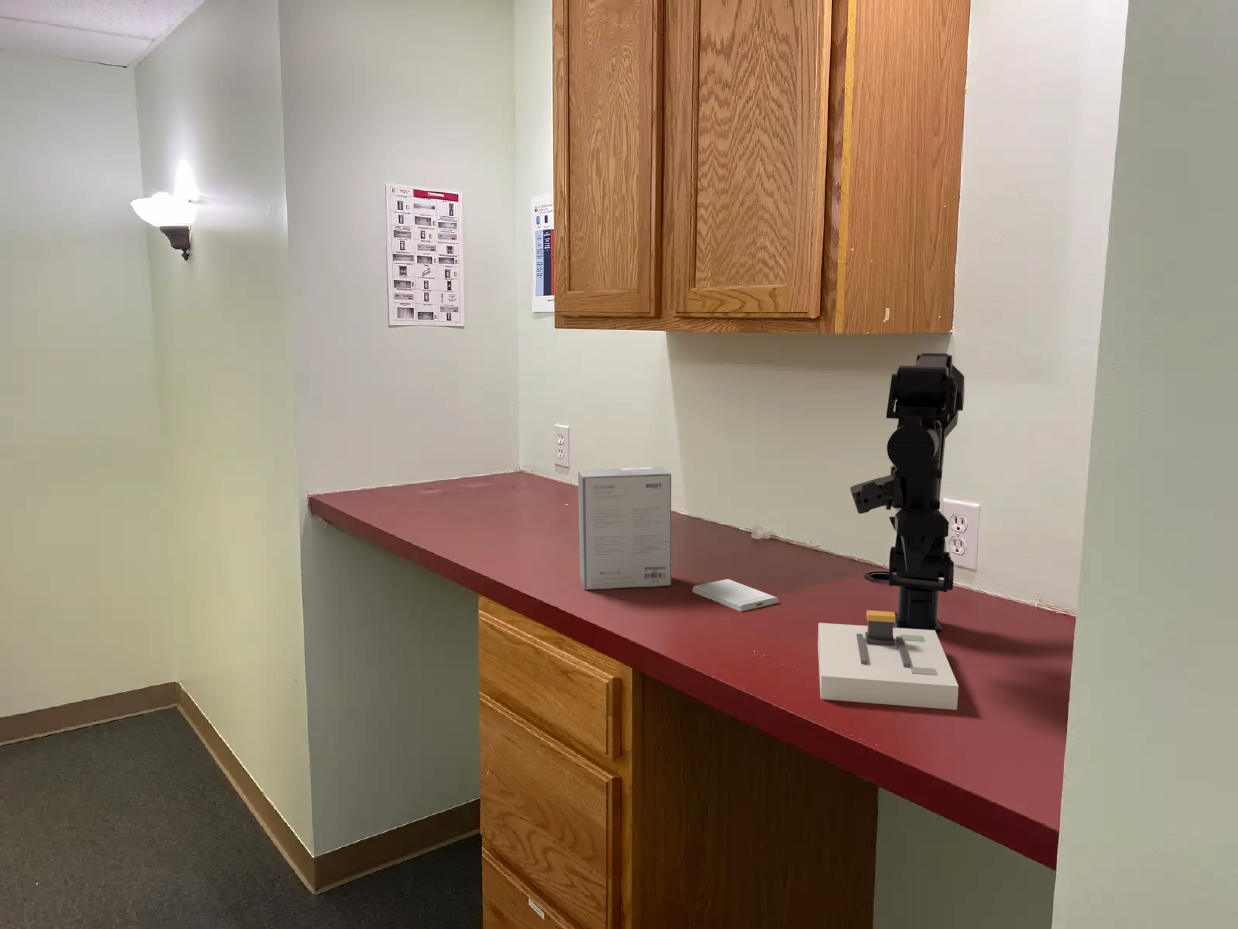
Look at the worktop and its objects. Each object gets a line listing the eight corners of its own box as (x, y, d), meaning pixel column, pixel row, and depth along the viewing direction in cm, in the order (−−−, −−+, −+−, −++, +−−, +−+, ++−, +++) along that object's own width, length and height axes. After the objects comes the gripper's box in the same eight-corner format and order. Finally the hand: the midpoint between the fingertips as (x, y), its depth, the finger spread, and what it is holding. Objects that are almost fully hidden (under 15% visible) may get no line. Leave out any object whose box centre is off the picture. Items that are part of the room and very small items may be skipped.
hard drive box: (663, 574, 167) (664, 466, 164) (671, 587, 160) (673, 473, 156) (578, 578, 165) (577, 468, 162) (583, 590, 157) (582, 476, 154)
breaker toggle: (865, 635, 127) (866, 608, 126) (892, 637, 126) (893, 610, 126) (866, 643, 124) (868, 616, 123) (894, 645, 123) (895, 618, 123)
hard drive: (692, 586, 157) (740, 604, 147) (729, 578, 161) (778, 595, 151) (692, 595, 157) (740, 614, 147) (729, 587, 161) (778, 605, 151)
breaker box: (817, 642, 133) (818, 619, 132) (933, 650, 130) (935, 627, 129) (820, 699, 113) (821, 672, 113) (956, 710, 110) (958, 682, 110)
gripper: (851, 448, 134) (847, 552, 136) (859, 469, 116) (854, 589, 118) (931, 450, 132) (925, 556, 134) (952, 472, 114) (945, 594, 116)
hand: (911, 572), depth 126 cm, fingers closed
